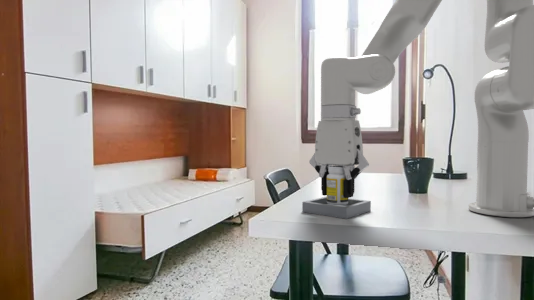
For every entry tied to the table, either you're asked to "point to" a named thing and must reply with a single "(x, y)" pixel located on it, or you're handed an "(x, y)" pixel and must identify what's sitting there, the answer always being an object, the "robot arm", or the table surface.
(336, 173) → the supplement bottle
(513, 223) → the table surface
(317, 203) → the tray
